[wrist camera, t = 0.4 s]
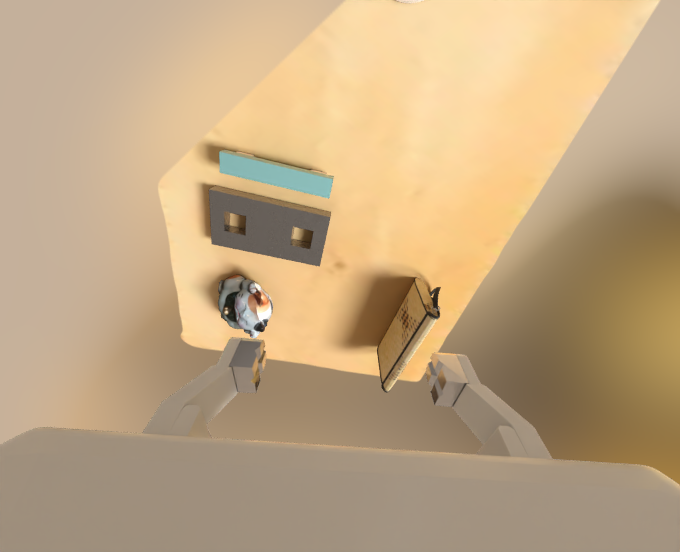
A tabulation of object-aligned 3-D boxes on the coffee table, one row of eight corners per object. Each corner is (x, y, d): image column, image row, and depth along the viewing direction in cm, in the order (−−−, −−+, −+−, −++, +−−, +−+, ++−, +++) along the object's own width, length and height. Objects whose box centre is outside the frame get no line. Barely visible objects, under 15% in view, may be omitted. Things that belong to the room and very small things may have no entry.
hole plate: (215, 185, 52) (208, 189, 49) (331, 212, 54) (330, 217, 52) (217, 238, 58) (211, 244, 56) (320, 259, 61) (319, 266, 58)
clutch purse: (395, 352, 78) (404, 399, 66) (373, 348, 77) (379, 394, 65) (442, 275, 63) (466, 316, 50) (416, 268, 62) (434, 308, 49)
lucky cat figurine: (218, 268, 63) (219, 288, 51) (268, 269, 68) (280, 287, 56) (217, 323, 67) (218, 353, 55) (264, 319, 72) (274, 347, 60)
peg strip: (230, 147, 48) (219, 151, 44) (334, 173, 50) (333, 179, 46) (230, 167, 50) (219, 172, 46) (330, 191, 52) (329, 198, 48)
